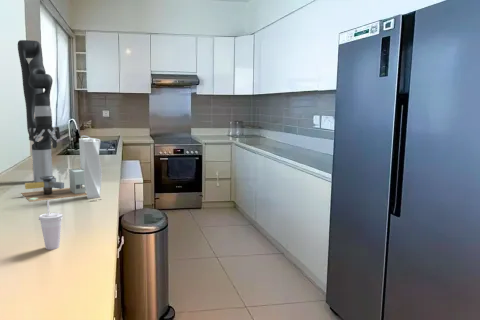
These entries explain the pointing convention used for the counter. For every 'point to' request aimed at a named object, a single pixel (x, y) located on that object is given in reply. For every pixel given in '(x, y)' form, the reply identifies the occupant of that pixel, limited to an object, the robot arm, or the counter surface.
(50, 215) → the smoothie
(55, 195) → the walnut board
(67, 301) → the counter surface
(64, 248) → the counter surface
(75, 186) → the stand
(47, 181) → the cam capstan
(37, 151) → the robot arm
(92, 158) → the skyscraper
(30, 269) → the counter surface
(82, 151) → the cylindrical container
